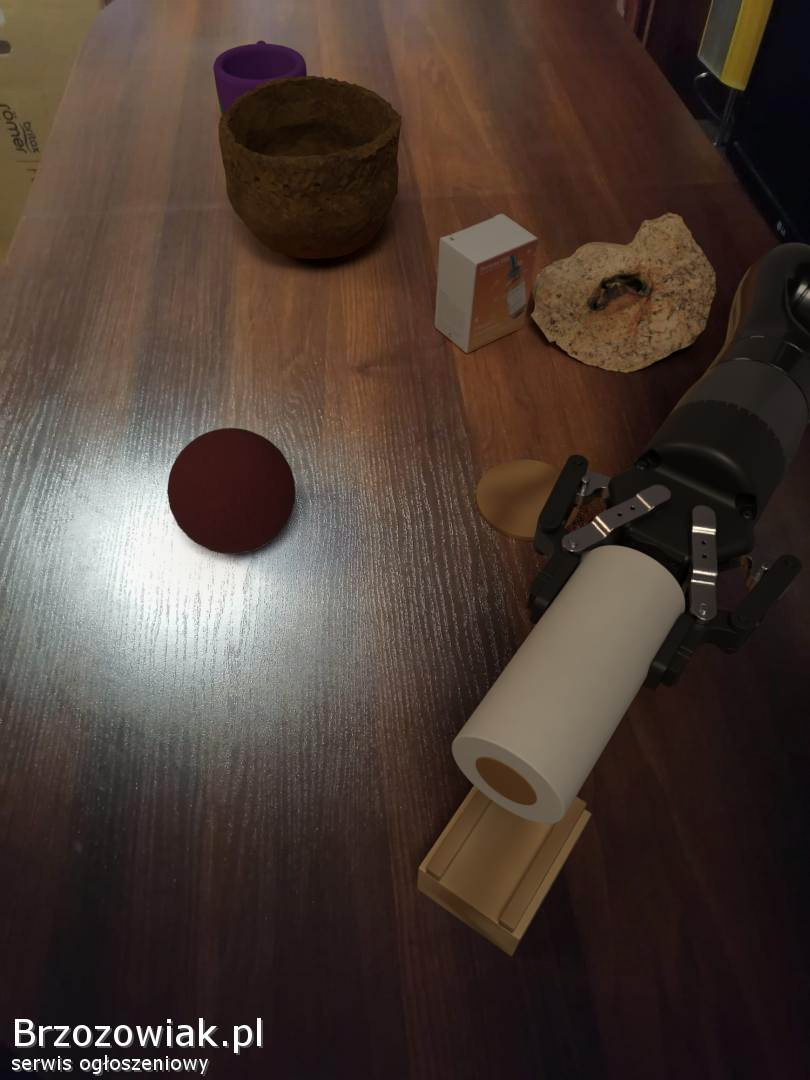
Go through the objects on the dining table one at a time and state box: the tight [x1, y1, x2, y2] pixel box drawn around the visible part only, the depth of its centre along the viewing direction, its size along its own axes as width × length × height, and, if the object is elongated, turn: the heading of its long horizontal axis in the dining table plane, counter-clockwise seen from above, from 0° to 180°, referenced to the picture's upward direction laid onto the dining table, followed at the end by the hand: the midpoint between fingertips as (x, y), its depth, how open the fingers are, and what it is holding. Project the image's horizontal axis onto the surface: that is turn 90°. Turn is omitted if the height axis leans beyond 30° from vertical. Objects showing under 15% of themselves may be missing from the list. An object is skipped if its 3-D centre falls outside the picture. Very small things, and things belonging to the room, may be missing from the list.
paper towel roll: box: [451, 545, 685, 824], centre depth 42 cm, size 6×13×6 cm, turn 145°
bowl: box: [217, 75, 403, 260], centre depth 93 cm, size 19×19×15 cm
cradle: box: [416, 784, 592, 957], centre depth 54 cm, size 7×9×5 cm
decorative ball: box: [166, 427, 296, 555], centre depth 68 cm, size 10×10×10 cm
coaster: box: [475, 458, 580, 542], centre depth 75 cm, size 9×9×1 cm
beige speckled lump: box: [530, 212, 717, 374], centre depth 89 cm, size 18×14×8 cm
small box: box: [434, 213, 539, 354], centre depth 86 cm, size 8×6×10 cm
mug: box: [212, 40, 308, 116], centre depth 111 cm, size 17×11×10 cm, turn 5°
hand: (593, 646), depth 43 cm, fingers closed on paper towel roll, 5 cm apart
